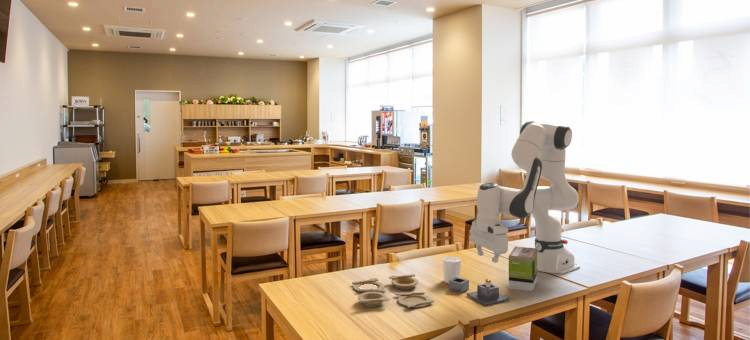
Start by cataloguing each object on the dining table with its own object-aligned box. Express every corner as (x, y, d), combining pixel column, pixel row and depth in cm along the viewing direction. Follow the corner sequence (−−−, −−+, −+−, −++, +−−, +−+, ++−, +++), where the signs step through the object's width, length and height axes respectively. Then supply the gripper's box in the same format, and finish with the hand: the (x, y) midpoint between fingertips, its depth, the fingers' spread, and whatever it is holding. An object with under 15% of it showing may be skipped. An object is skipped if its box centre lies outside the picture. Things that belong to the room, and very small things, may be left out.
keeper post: (490, 290, 202) (491, 273, 201) (509, 300, 191) (510, 282, 190) (466, 295, 197) (466, 277, 196) (484, 306, 186) (485, 286, 185)
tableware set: (437, 309, 185) (437, 299, 184) (360, 315, 180) (360, 305, 180) (414, 279, 219) (414, 270, 219) (350, 283, 215) (350, 274, 214)
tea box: (514, 277, 218) (514, 245, 216) (537, 280, 213) (538, 247, 212) (507, 288, 204) (508, 254, 203) (532, 292, 200) (533, 257, 198)
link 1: (456, 286, 208) (456, 277, 208) (468, 289, 204) (469, 280, 204) (448, 290, 204) (449, 280, 203) (461, 293, 200) (461, 283, 199)
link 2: (489, 292, 198) (489, 282, 197) (498, 297, 192) (499, 287, 192) (477, 294, 196) (477, 284, 195) (486, 299, 190) (486, 289, 190)
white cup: (460, 284, 210) (460, 262, 208) (442, 283, 211) (442, 261, 210) (461, 278, 217) (461, 257, 216) (443, 277, 219) (443, 256, 218)
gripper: (466, 219, 199) (465, 252, 201) (497, 231, 181) (497, 267, 183) (479, 218, 202) (478, 250, 204) (511, 229, 183) (510, 265, 185)
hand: (487, 258), depth 193 cm, fingers open, 8 cm apart
